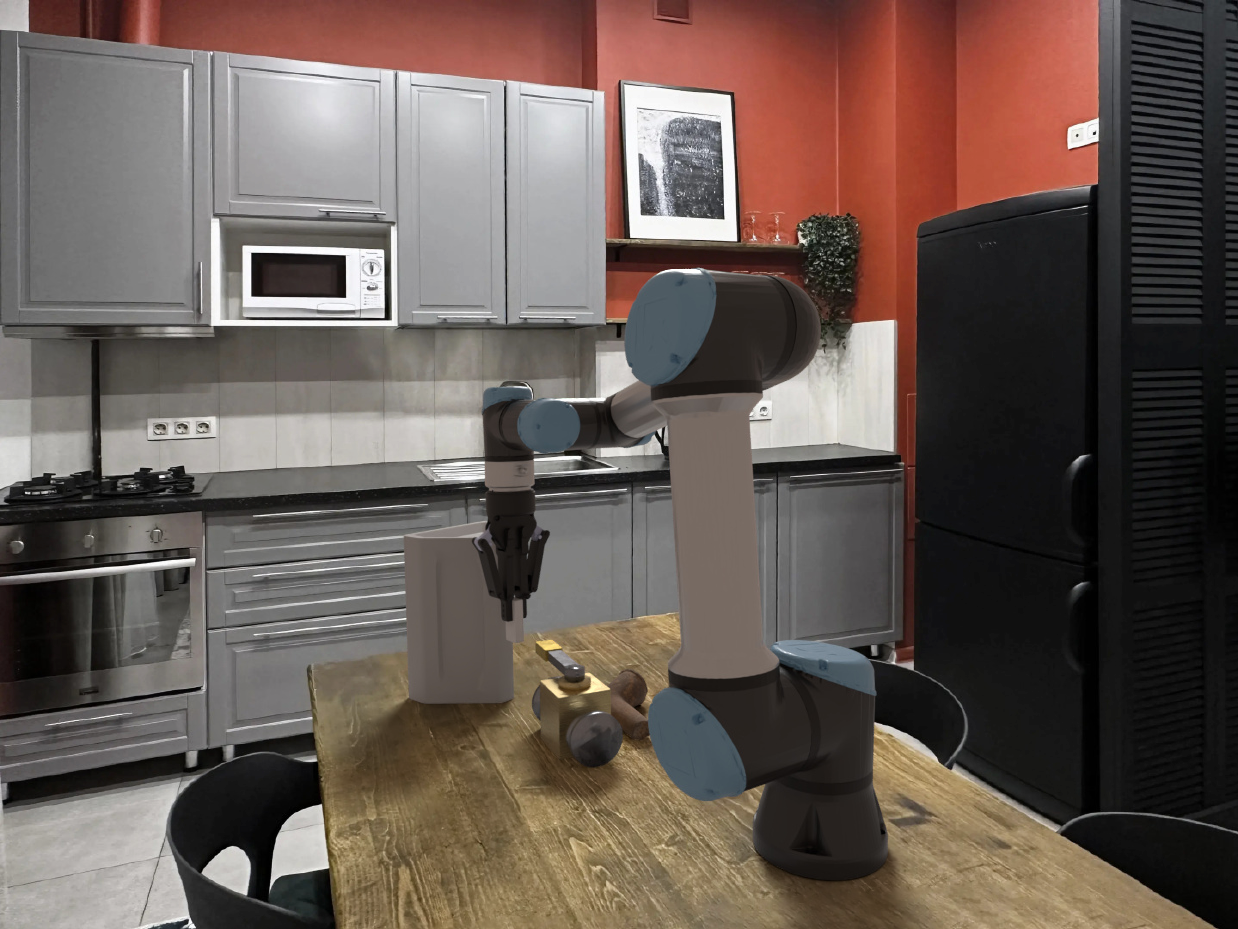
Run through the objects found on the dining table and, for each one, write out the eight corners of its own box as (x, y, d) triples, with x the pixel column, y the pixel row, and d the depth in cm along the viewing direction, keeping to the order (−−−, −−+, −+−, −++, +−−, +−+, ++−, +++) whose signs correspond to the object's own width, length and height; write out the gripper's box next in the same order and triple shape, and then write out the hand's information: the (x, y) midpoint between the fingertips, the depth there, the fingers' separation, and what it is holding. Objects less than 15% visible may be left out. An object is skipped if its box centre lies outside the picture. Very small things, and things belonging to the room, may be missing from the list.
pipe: (629, 715, 127) (684, 692, 132) (575, 681, 141) (627, 661, 146) (635, 755, 128) (689, 730, 133) (581, 718, 142) (633, 696, 147)
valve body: (624, 761, 122) (623, 694, 121) (571, 772, 118) (570, 703, 118) (579, 719, 137) (578, 659, 136) (531, 728, 134) (529, 666, 133)
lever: (587, 680, 126) (587, 667, 126) (568, 683, 125) (568, 670, 125) (552, 650, 140) (552, 639, 140) (535, 652, 139) (534, 641, 139)
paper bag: (465, 718, 138) (460, 545, 136) (406, 697, 147) (401, 535, 145) (547, 684, 153) (544, 528, 150) (489, 668, 162) (485, 520, 160)
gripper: (486, 493, 125) (491, 654, 126) (559, 486, 133) (563, 637, 135) (460, 490, 130) (465, 644, 132) (531, 483, 139) (536, 628, 140)
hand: (515, 640), depth 133 cm, fingers closed
